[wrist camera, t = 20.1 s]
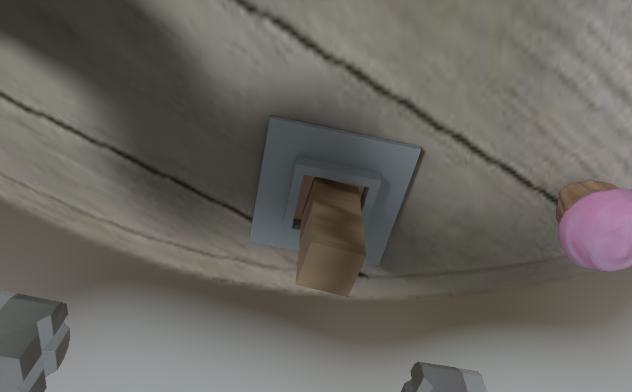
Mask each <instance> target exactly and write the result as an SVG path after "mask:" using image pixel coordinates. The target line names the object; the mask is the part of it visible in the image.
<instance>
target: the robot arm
mask: <svg viewBox="0 0 632 392" xmlns="http://www.w3.org/2000/svg"><path fill="white" fill-rule="evenodd" d="M67 315H68V309H67V304H66V303H63V302H59V301H53V300H48V299H43V298H38V297H32V296H28V295H22V294H17V293H11V292H6V291H0V392H44V391H45V389H46V380H45V377H47V376H48V375H50V374H52V373H53V372H55V371H56V370H58V368H59V366H60V365H61V363H62V361H63V359H64V357H65V354H66V352H67V349H68V346H69V341H70V328H69V327H68V326H67V325H66V324H65V323H64V320H65V318H66V317H67ZM410 372H411V378H412V379H411V380H410V381H408V382H406V383H404V386H403V388H402V390H401V392H487V390H486V387H485V384H484V381H483V378H482V376H481V374H480V373H479V372H478V371H471V370H465V369H459V368H455V367H449V366H442V365H436V364H430V363H422V362H417V363H415V364H414V365H413V367H412V369H411V371H410Z"/></svg>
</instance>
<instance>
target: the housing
mask: <svg viewBox="0 0 632 392" xmlns="http://www.w3.org/2000/svg"><path fill="white" fill-rule="evenodd" d="M420 152H421V148H420V146H415V145H411V144H406V143H401V142H396V141H391V140H387V139H382V138H377V137H372V136H368V135H363V134H358V133H353V132H348V131H344V130H339V129H334V128H329V127H325V126H320V125H315V124H310V123H305V122H301V121H296V120H291V119H286V118H281V117H277V116H272V115H271V116H270V120H269V126H268V132H267V138H266V144H265V149H264V155H263V161H262V167H261V173H260V179H259V185H258V191H257V197H256V202H255V208H254V214H253V220H252V226H251V232H250V238H249V242H250V243H255V244H261V245H266V246H271V247H277V248H282V249H288V250H293V251H299V241H300V231H301V220H302V211H303V209H304V206H305V203H306V200H307V197H308V194H309V191H310V188H311V186H312V183H313V180H314V177H319V178H324V179H329V180H333V181H337V182H341V183H344V184H348V185H351V186H355V187H358V188H359V195H360V203H361V212H362V221H363V230H364V239H365V248H366V258H365V260H364V264H369V265H375V266H379V264H380V261H381V259H382V256H383V253H384V250H385V248H386V245H387V242H388V239H389V237H390V234H391V231H392V229H393V226H394V223H395V220H396V218H397V215H398V212H399V209H400V207H401V204H402V201H403V198H404V196H405V193H406V190H407V188H408V185H409V182H410V179H411V177H412V174H413V171H414V168H415V166H416V163H417V160H418V157H419V155H420Z"/></svg>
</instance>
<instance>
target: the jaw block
mask: <svg viewBox="0 0 632 392" xmlns="http://www.w3.org/2000/svg"><path fill="white" fill-rule="evenodd" d="M365 258H366V248H365V239H364V230H363V221H362V212H361V203H360V195H359V188H358V187H355V186H351V185H348V184H344V183H341V182H337V181H333V180H329V179H324V178H319V177H314V180H313V183H312V186H311V188H310V191H309V194H308V197H307V200H306V203H305V206H304V209H303V211H302V220H301V231H300V241H299V252H298V263H297V274H296V284H297V285H301V286H305V287H309V288H313V289H317V290H321V291H325V292H329V293H333V294H337V295H341V296H346V297H348V295H349V293H350V291H351V289H352V286H353V284H354V282H355V280H356V278H357V276H358V273H359V271H360V269H361V267H362V265H363V263H364V260H365Z"/></svg>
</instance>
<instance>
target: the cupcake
mask: <svg viewBox="0 0 632 392" xmlns="http://www.w3.org/2000/svg"><path fill="white" fill-rule="evenodd" d="M556 219H557V221H558V223H559V240H560V244H561V247H562V249H563V251H564V253H565V254H566V255H567V257H568V258H570V259H571V260H572V261H573V262H574V263H575V264H577V265H578V266H581V267H584V268H587V269H597V270H602V271H617V270H622V269H625V268H628V267H631V266H632V190H630V189H623V188H619V187H617V186H615V185H612V184H609V183H605V182H598V181H594V180H587V181H584V182H581V183H573V184H569V185H567V186H565V187H564V188H563V189H562V190H561V191H560V193H559V199H558V204H557V208H556Z"/></svg>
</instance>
